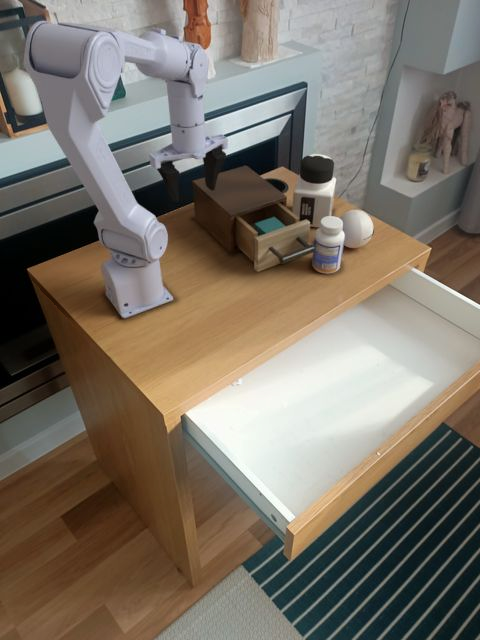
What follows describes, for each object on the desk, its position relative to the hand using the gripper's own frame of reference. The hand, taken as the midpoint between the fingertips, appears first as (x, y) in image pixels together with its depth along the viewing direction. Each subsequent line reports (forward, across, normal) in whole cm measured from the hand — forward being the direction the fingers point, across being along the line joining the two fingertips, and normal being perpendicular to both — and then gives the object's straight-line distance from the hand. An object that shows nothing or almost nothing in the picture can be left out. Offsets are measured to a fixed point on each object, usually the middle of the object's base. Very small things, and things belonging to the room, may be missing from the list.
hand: (192, 193), depth 102 cm
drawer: (+10, +10, -12) cm, 18 cm away
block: (+8, +10, -12) cm, 17 cm away
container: (+11, +25, -6) cm, 28 cm away
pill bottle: (+11, +16, -21) cm, 28 cm away
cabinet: (+10, +10, 0) cm, 14 cm away
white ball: (+11, +26, -18) cm, 34 cm away
